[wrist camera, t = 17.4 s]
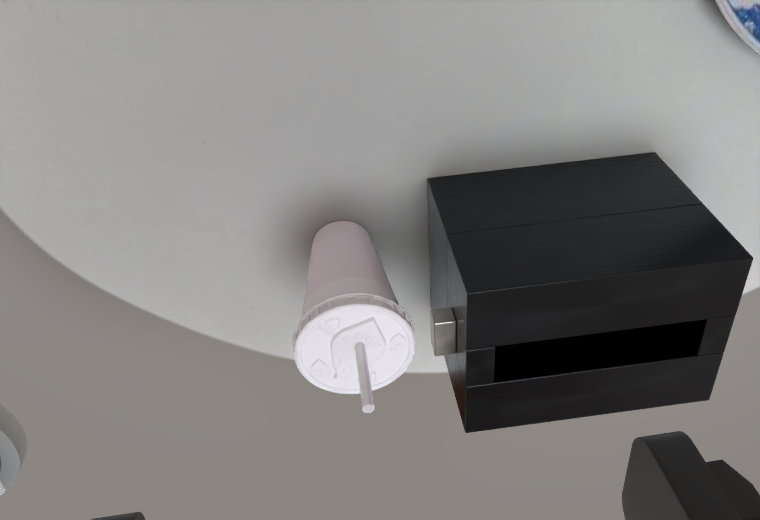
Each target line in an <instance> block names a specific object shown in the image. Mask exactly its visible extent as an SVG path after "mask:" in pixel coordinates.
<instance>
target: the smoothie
mask: <svg viewBox="0 0 760 520" xmlns="http://www.w3.org/2000/svg"><path fill="white" fill-rule="evenodd" d="M415 347H416V346H415V337H414V328H413V325H412V322H411V319H410V317H409V316H408V315H407V313H406V312H405V311H404V309H403V308H401V307H400V306H399V304H398V302H397V300H396V298H395V295H394V293H393V291H392V288H391V286H390V283H389V281H388V279H387V276H386V274H385V272H384V269H383V267H382V264H381V262H380V260H379V257H378V255H377V252H376V250H375V248H374V245H373V243H372V241H371V238H370V236H369V234H368V232H367V231H366V230H365V229H364V228H363V227H362V226H360V225H359V224H357V223H354V222H351V221H336V222H332V223H329V224H327V225H325V226H324V227H322V228H321V229H320V230H319V231H318V232H317V233H316V235H315V237H314V239H313V243H312V250H311V257H310V264H309V271H308V278H307V285H306V292H305V299H304V306H303V311H302V318H301V320H300V321H299V323H298V324H297V326H296V328H295V332H294V335H293V351H294V357H295V362H296V365H297V367H298V369H299V371H300V372H301V374H302V375H303V376H304V377H305V378H306V379H307V380H308V381H309V382H311V383H312V384H314V385H315V386H317V387H319V388H322V389H324V390H327V391H330V392H335V393H342V394H358V393H360V394H361V401H362V409H363V411H364V412H366V413H370V412H372V411H373V410H374V403H373V396H372V391H373V390H376V389H379V388H381V387H383V386H386V385H388V384H389V383H391V382H393V381H394V380H395V379H397V378H398V377H399V376H400V375H402V374H403V373H404V371H405V370H406V369H407V368H408V366H409V365H410V363H411V361H412V359H413V357H414V353H415Z"/></svg>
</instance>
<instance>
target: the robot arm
mask: <svg viewBox="0 0 760 520" xmlns="http://www.w3.org/2000/svg"><path fill="white" fill-rule="evenodd" d="M0 471H1V458H0ZM622 505H623V511H624V515H625V519H626V520H760V495H759V494H758V492H757V491H756V489H755V488H754V486H753V485H752V484H751V483H750V482H749V481H748V480H747V479H745V478H744V477H743V476H741V475H740V474H739V473H738V472H737V471H735V470H734V469H733V468H732V467H730V466H729V465H728V464H727V463H726V462H724V461H723V460H717V461H711V462H705V461H704V459H703V457H702V456H701V454H700V453H699V451H698V450H697V448H696V446H695V445H694V443H693V442H692V440H691V439H690V438H689V437H688V435H686V434H685V433H683V432H681V431H677V432H671V433H664V434H659V435H651V436H645V437H638V438H636V439H635V440H634V442H633V444H632V448H631V453H630V458H629V463H628V468H627V473H626V478H625V482H624V487H623V492H622ZM92 520H145V518H144V516H143V514H142V513H141V512H135V513H129V514H123V515H116V516H109V517H102V518H96V519H92Z"/></svg>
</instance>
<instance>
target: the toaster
mask: <svg viewBox="0 0 760 520" xmlns="http://www.w3.org/2000/svg"><path fill="white" fill-rule="evenodd" d="M427 184H428V221H429V258H430V295H431V309H432V310H431V311H430V312H431V342H432V346H433V350H434V354H435V356H440V355H444V357H445V361H446V364H447V368H448V371H449V375H450V378H451V382H452V386H453V389H454V393H455V397H456V400H457V404H458V408H459V411H460V415H461V419H462V422H463V426H464V429H465V432H466V433H469V432H477V431H484V430H491V429H499V428H506V427H513V426H521V425H528V424H536V423H543V422H551V421H558V420H565V419H572V418H579V417H587V416H595V415H602V414H609V413H617V412H624V411H631V410H639V409H646V408H654V407H661V406H668V405H676V404H683V403H690V402H698V401H705V400H709V399H710V395H711V392H712V389H713V386H714V382H715V379H716V376H717V373H718V369H719V366H720V363H721V360H722V357H723V352H724V350H725V347H726V344H727V341H728V337H729V334H730V331H731V328H732V325H733V321H734V318H735V315H736V312H737V309H738V305H739V302H740V299H741V296H742V293H743V289H744V286H745V283H746V280H747V276H748V273H749V270H750V267H751V263H752V260H753V257H752V256H751V255H750V254H749V253H748V252H747V251H746V250H745V248H744V247H743V246H742V245H741V244H740V243H739V242H738V241H737V240H736V239H735V238H734V237H733V236H732V234H731V233H730V232H729V231H728V230H727V229H726V228H725V227H724V226H723V225H722V224H721V223H720V222H719V220H718V219H717V218H716V217H715V216H714V215H713V214H712V213H711V212H710V211H709V210H708V209H707V208H706V206H705V205H704V204H703V203H702V202H701V201H700V200H699V199H698V198H697V197H696V196H695V195H694V194H693V193H692V191H691V190H690V189H689V188H688V187H687V186H686V185H685V184H684V183H683V182H682V181H681V180H680V179H679V177H678V176H677V175H676V174H675V173H674V172H673V171H672V170H671V169H670V168H669V167H668V166H667V165H666V163H665V162H664V161H663V160H662V159H661V158H660V157H659V156H658V155H657V154H656V153H648V154H639V155H630V156H621V157H613V158H604V159H595V160H587V161H578V162H569V163H560V164H552V165H543V166H534V167H526V168H517V169H508V170H499V171H491V172H482V173H473V174H464V175H456V176H447V177H438V178H430V179H427Z"/></svg>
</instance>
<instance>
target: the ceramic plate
mask: <svg viewBox="0 0 760 520" xmlns="http://www.w3.org/2000/svg"><path fill="white" fill-rule="evenodd" d="M715 2H716V4H717V6H718V8H719V10H720V11H721V13H722V14H723V16H724V17H725V19H726V20H727V22H728V23H729V25H730V26H731V27H732V28H733V30H734V31H735V32H736V33H737V34H738V35H739V36H740V37H741V39H742V40H743V41H744V42H745V43H746V44H747V45H749V46H750V47H751V48H752V49H753V50H754V51H756V52H757V53H758V54H759V55H760V0H715Z"/></svg>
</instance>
